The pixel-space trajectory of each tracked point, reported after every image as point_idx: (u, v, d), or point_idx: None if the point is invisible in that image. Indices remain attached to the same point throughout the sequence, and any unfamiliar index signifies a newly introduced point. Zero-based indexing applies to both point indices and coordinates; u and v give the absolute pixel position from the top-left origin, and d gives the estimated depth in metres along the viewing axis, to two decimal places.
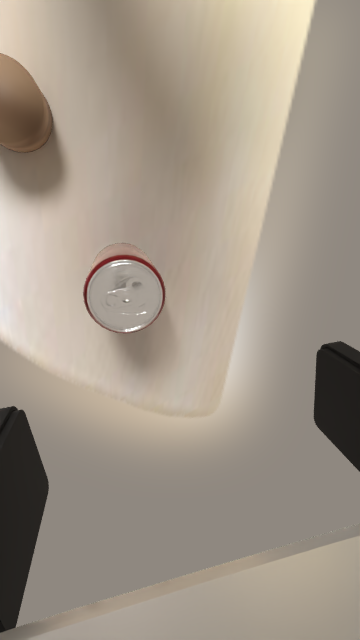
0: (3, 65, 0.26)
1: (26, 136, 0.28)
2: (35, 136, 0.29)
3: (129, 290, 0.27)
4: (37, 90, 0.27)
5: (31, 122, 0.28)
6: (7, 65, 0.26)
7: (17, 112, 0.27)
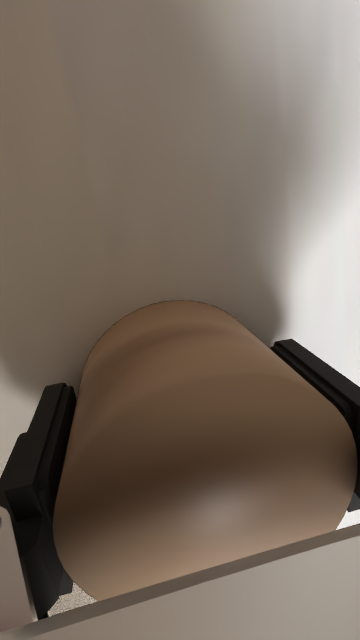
0: None
1: (106, 432, 0.05)
2: (85, 413, 0.07)
3: None
4: (84, 584, 0.07)
5: (89, 489, 0.06)
6: None
7: (152, 499, 0.06)
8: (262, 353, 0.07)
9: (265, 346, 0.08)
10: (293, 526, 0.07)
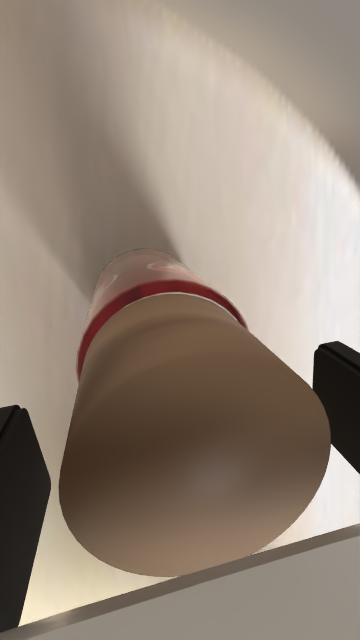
0: (196, 554, 0.08)
1: (105, 404, 0.06)
2: (87, 390, 0.07)
3: None
4: (86, 543, 0.07)
5: (91, 454, 0.07)
6: (183, 558, 0.08)
7: (146, 465, 0.07)
8: (245, 338, 0.08)
9: (250, 334, 0.09)
10: (273, 494, 0.08)
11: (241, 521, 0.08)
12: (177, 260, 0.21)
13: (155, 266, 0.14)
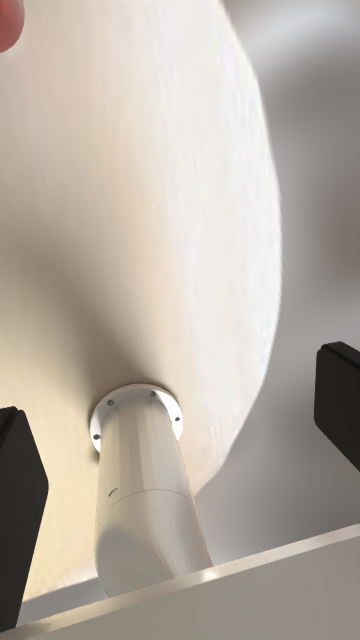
0: None
1: None
2: None
3: None
4: None
5: None
6: None
7: None
8: None
9: None
10: None
11: None
12: None
13: None
